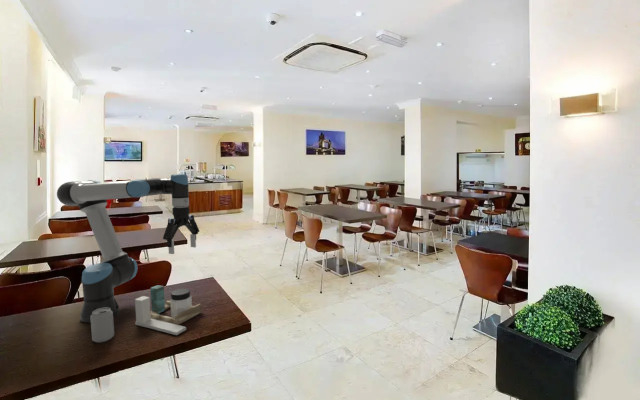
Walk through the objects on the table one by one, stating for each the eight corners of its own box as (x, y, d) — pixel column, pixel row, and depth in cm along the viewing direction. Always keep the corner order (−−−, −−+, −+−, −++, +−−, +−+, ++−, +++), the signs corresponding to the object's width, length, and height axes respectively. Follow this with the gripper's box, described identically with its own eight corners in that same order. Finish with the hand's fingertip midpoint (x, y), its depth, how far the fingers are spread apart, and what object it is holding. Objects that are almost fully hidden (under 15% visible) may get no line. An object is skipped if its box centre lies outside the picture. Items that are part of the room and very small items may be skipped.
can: (97, 345, 127) (95, 315, 126) (88, 340, 131) (86, 311, 130) (118, 337, 134) (116, 308, 132) (108, 332, 138) (106, 304, 136)
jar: (171, 322, 146) (170, 296, 145) (171, 315, 153) (169, 290, 152) (192, 318, 150) (191, 293, 149) (191, 311, 157) (190, 287, 156)
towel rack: (142, 317, 151) (140, 291, 150) (167, 304, 164) (166, 281, 163) (177, 325, 142) (176, 298, 141) (201, 312, 156) (200, 287, 154)
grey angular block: (135, 324, 143) (133, 299, 142) (145, 319, 148) (144, 295, 147) (176, 335, 134) (175, 308, 133) (186, 329, 139) (184, 304, 138)
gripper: (165, 210, 144) (167, 257, 146) (205, 204, 167) (207, 245, 169) (152, 209, 147) (155, 255, 149) (194, 203, 170) (195, 244, 172)
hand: (182, 250), depth 159 cm, fingers open, 13 cm apart
